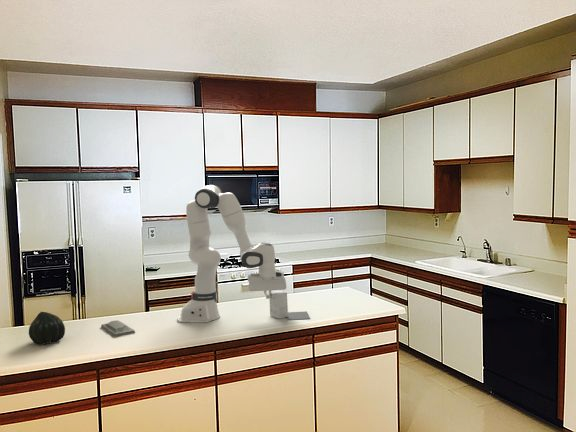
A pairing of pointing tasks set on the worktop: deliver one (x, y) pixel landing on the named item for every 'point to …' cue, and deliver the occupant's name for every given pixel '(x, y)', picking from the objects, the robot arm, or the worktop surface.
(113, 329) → the soap mold
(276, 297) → the small box
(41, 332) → the squash
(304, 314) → the mat
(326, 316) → the worktop surface
